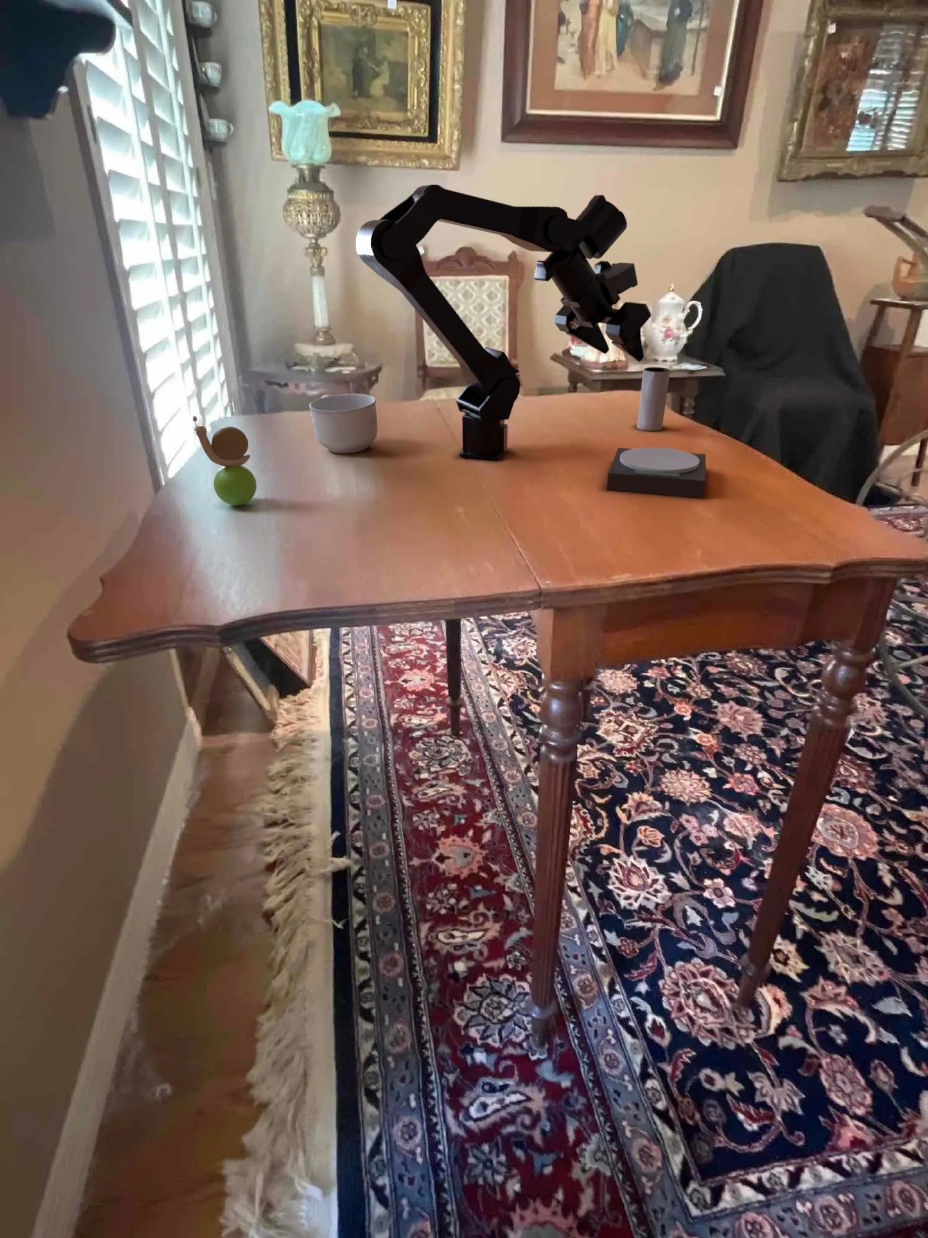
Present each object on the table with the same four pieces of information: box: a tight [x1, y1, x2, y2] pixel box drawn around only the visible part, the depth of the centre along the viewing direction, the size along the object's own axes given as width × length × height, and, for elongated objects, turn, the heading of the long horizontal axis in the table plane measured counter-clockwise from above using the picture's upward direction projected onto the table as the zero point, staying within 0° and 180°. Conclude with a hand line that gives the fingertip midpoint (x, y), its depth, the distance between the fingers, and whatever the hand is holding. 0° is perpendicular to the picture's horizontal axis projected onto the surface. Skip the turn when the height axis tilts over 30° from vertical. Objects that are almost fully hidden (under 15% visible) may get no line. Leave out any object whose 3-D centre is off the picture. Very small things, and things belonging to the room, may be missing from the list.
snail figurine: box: [192, 415, 257, 506], centre depth 90 cm, size 5×6×12 cm
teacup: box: [308, 393, 378, 454], centre depth 116 cm, size 14×11×8 cm
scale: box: [606, 446, 707, 499], centre depth 100 cm, size 13×13×3 cm
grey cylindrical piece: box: [636, 366, 671, 432], centre depth 124 cm, size 4×4×10 cm
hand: (623, 355), depth 117 cm, fingers open, 9 cm apart
